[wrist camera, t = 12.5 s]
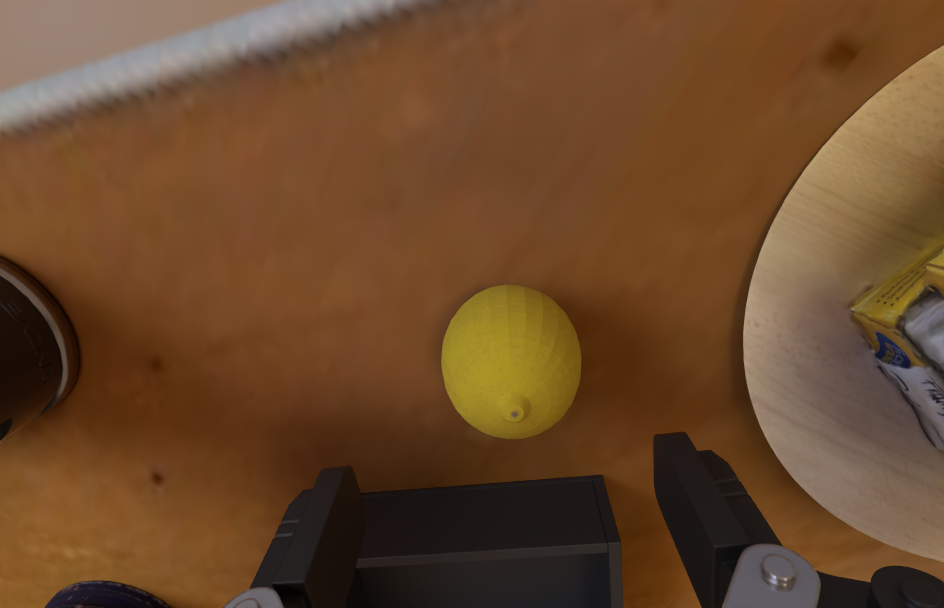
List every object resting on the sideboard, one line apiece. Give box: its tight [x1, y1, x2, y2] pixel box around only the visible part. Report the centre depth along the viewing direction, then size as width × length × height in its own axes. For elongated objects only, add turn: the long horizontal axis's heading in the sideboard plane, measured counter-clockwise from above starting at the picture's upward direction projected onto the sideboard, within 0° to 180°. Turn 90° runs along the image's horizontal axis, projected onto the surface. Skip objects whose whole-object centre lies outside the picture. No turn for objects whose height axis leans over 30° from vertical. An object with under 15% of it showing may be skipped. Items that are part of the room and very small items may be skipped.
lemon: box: [441, 284, 582, 439], centre depth 21 cm, size 6×6×8 cm
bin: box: [345, 475, 623, 608], centre depth 28 cm, size 15×12×4 cm
